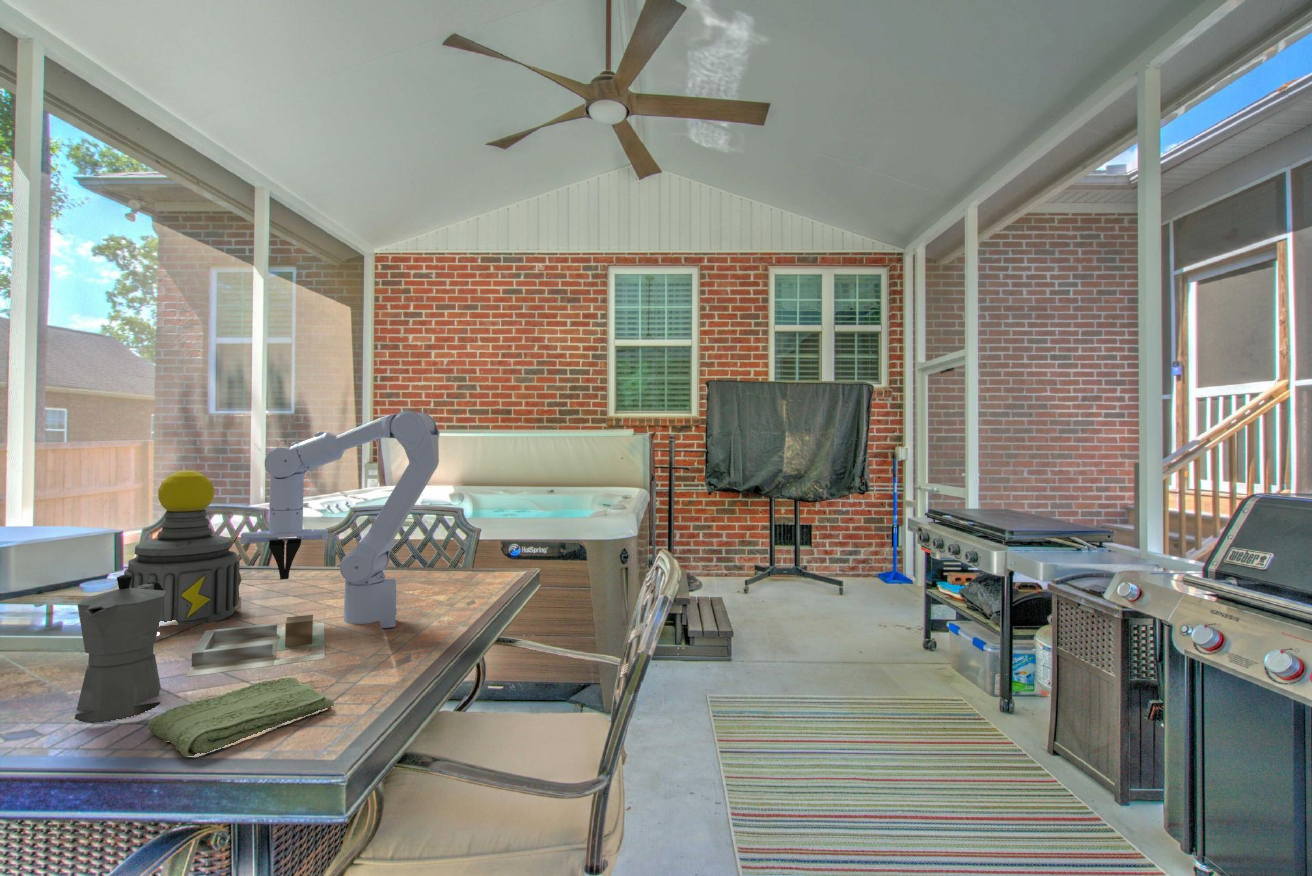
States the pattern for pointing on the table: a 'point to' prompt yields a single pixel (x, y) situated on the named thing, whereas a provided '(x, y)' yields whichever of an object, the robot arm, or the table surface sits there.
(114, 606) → the coffeepot
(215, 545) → the decorative lamp
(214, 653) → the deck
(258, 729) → the washcloth
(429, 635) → the table surface
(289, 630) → the walnut block
